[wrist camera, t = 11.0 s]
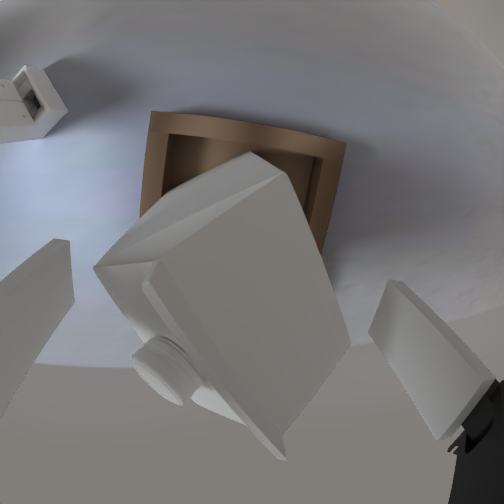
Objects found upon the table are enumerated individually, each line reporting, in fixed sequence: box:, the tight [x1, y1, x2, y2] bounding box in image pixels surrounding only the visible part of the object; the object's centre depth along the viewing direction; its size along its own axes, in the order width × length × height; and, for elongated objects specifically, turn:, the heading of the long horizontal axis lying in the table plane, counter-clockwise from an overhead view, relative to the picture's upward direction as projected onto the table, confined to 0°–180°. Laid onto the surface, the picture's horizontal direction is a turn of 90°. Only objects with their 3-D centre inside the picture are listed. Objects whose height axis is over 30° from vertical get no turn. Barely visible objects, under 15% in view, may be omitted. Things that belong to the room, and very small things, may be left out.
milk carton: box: [93, 151, 351, 461], centre depth 15 cm, size 7×7×19 cm
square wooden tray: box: [140, 111, 346, 255], centre depth 23 cm, size 14×14×3 cm
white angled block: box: [0, 65, 68, 144], centre depth 16 cm, size 4×10×9 cm
